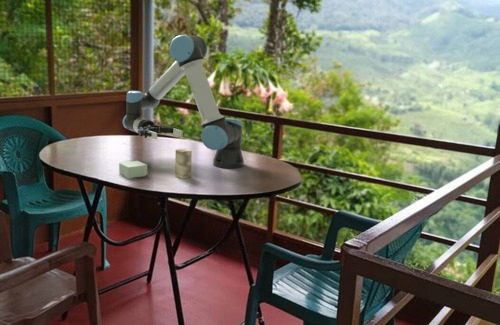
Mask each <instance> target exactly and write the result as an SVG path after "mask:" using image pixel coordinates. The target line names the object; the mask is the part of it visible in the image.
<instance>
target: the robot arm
mask: <svg viewBox="0 0 500 325" xmlns="http://www.w3.org/2000/svg"><path fill="white" fill-rule="evenodd" d="M207 45H208V44H207V42H206V40H205V39H203V38H202V37H201V36H198V35H194V34H193V35H190V34H179V35H177V36H175V37H174V38H173V39H172V40H171V42H170V45H169V54H170V57H171V58H172V59H173V60H174V62H173V63H172V64H171V65H170V67H169V68H168V69H167V70H165V72H164V73H163V74H162V75H160V77H159V78H158V79H157V80H156V81H155V82H154V84H152V85H151V86H150V88H149V89H148V90H147V91H146V92H145V93H143V92H142V91H139V90H129V91H127V92H126V99H125V101H126V114H125V116H124V117H123V119H122V125H123V127H124V128H125V129H127V130H128V131H131V132H134V133H137V134H139V136H140V137H143V138H145V139H147V138H151V139H154V140H158V134H162V133H163V134H164V133H165V134H172V135H174V136H178V137H180V138H182V137H183V134H184V133H183V132H184V131H183V130H182V129H179V127H177V126H168V125H163V124H161V125H158V124H155V123H154V121H152V120H150V119H147V118H144V117H143V110H147V109H153V108H156V107H157V106H158V105H159V104H160V101H161V99H162V98H163V97H165V95H166V94H167V93H168V92H169V91H170V90H172V88H173V87H174V86H175V85H176V84H177V83H178V82H179V81H180V80H181V79H182V78H183V77H184V76H186V79H187V82H188V84H189V87H190V90H191V92H192V95H193V96H192V97H193V98H194V100H195V104H196V106H197V109H198V111H199V115H200V118H201V120H202V121H201V122H200V127H201V130H202V131H201V135H200V138H201V139H200V140H201V142H202V143H203V145H204V147H206V149H210V150H212V151H215V154H214V157H213V160H212V161H213V162H212V165H214V167H216V168H217V167H218V168H222V169H238V168H242V167H244V165H245V160H244V156H243V152H242V136H243V120H241V119H237V118H232V117H231V118H228V117H225V116H224V115H222V114H221V112H220V111H219V110H220V109H219V108H218V105H217V102H216V99H215V96H214V94H213V91H212V88H211V85H210V83H209V80H208V77H207V74H206V72H205V68H204V66H203V64H204V62H205V57H206V55H207V53H208V46H207Z"/></svg>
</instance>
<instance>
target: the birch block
mask: <svg viewBox="0 0 500 325" xmlns="http://www.w3.org/2000/svg"><path fill="white" fill-rule="evenodd" d="M192 152H193V151H192V150H190V149H189V148H188V149H187V148H180V149H179V148H178V149H175V161H174V162H175V164H174V165H175V166H174V168H175V169H174V170H175V171H174V172H175V174H174V177H177V178H179V179H181V180H182V179H183V180H184V179H188V178H189V179H190V178H191V177H192V160H193V159H192V157H193V156H192Z"/></svg>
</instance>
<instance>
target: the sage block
mask: <svg viewBox="0 0 500 325" xmlns="http://www.w3.org/2000/svg"><path fill="white" fill-rule="evenodd" d="M118 166H119V168H118V170H119V171H118V173H119V175H121V176H122V177H125V178H127V179H128V180H129V179H132V178H140V177H147V176H148V164H146V163H144V162H141V161H139V160H134V161H125V162H119V163H118ZM146 175H147V176H146Z"/></svg>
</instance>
